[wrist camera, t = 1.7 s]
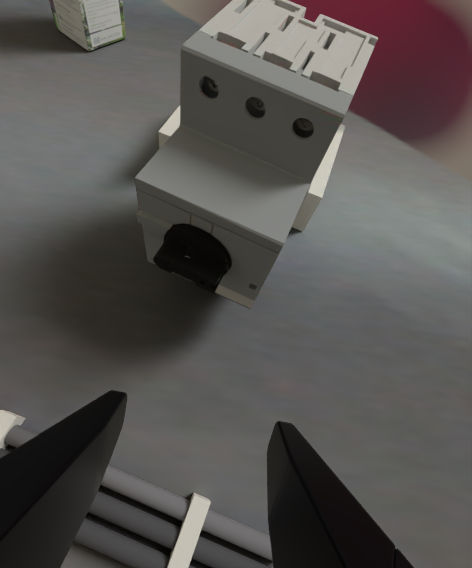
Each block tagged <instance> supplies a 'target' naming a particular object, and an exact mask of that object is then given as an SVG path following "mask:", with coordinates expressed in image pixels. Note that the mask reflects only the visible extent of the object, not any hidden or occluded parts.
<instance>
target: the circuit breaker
mask: <svg viewBox="0 0 472 568" xmlns="http://www.w3.org/2000/svg"><path fill="white" fill-rule="evenodd" d="M305 11H306V8H305V7H302V6H300V5H298V4H295V3H293V2H290V1H288V0H233V1H232V2H230V3H229V4H228V5H227V6H226V7H225V8H224V9H222V10H221V11H220V12H219V13H218V14H217V15H216V16H214V17H213V18H212V19H211V20H210V21H209V22H208V23H206V24H205V25H204V26H203V27H202V28H201V29H200V30H199V31H197V32H196V33H195V34H194V35H193V36H192V37H191V38H189V39H188V40H187V41H186V42H185V43H184V44H183V45H182V47H181V93H180V126H179V127H178V128H177V130H176V131H175V132H174V133H173V134H172V135H171V136H170V138H169V139H168V140H167V141H166V142H165V143H164V144H163V146H162V147H161V148H160V149H159V150H158V151H157V153H156V154H155V155H154V156H153V157H152V158H151V159H150V161H149V162H148V163H147V164H146V165H145V166H144V168H143V169H142V170H141V171H140V172H139V173H138V174H137V176H136V177H135V184H136V192H137V198H138V204H139V210H138V211H137V213H136V218H137V222H138V223H140V224H142V230H143V236H144V242H145V249H146V255H147V261H148V262H151V263H153V264H155V265H157V266H158V267H160V268H161V269H163V270H165V271H168V272H170V273H174V274H176V275H178V276H180V277H182V278H185V279H187V280H189V281H191V282H194V283H196V285H197V286H199V287H202V288H204V289H206V290H208V291H210V292H212V293H217V294H219V295H221V296H223V297H225V298H227V299H229V300H231V301H234V302H236V303H238V304H240V305H242V306H244V307H246V308H249V309H250V308H251V306H252V304H253V302H254V301H255V299H256V297H257V295H258V293H259V291H260V289H261V287H262V285H263V283H264V281H265V280H266V278H267V276H268V274H269V272H270V270H271V268H272V266H273V264H274V262H275V260H276V258H277V257H278V255H279V253H280V251H281V249H282V247H283V245H284V243H285V240H286V238H287V236H288V234H289V231H290V229H291V227H292V225H293V222H294V220H295V218H296V216H297V213H298V211H299V209H300V207H301V204H302V202H303V200H304V197H305V195H306V193H307V191H308V188H309V186H310V184H311V182H312V180H313V178H314V176H315V174H316V172H317V170H318V168H319V166H320V164H321V162H322V160H323V158H324V156H325V154H326V152H327V150H328V148H329V146H330V144H331V142H332V140H333V138H334V136H335V134H336V132H337V130H338V128H339V126H340V124H341V122H342V120H343V118H344V116H345V114H346V112H347V109H348V107H349V105H350V102H351V100H352V98H353V95H354V93H355V91H356V88H357V86H358V83H359V81H360V79H361V77H362V74H363V72H364V70H365V67H366V65H367V63H368V60H369V58H370V56H371V53H372V51H373V49H374V46H375V43H376V41H377V39H378V37H375V36H373V35H370V34H368V33H365V32H363V31H360V30H358V29H356V28H353V27H351V26H349V25H346V24H344V23H341V22H338V21H336V20H334V19H332V18H329V17H327V16H324V15H322V14H320V16H319V17H318V18H317V20H316V21H315V23H313V22H311V21H309V20H306V19H304V15H305Z"/></svg>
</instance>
